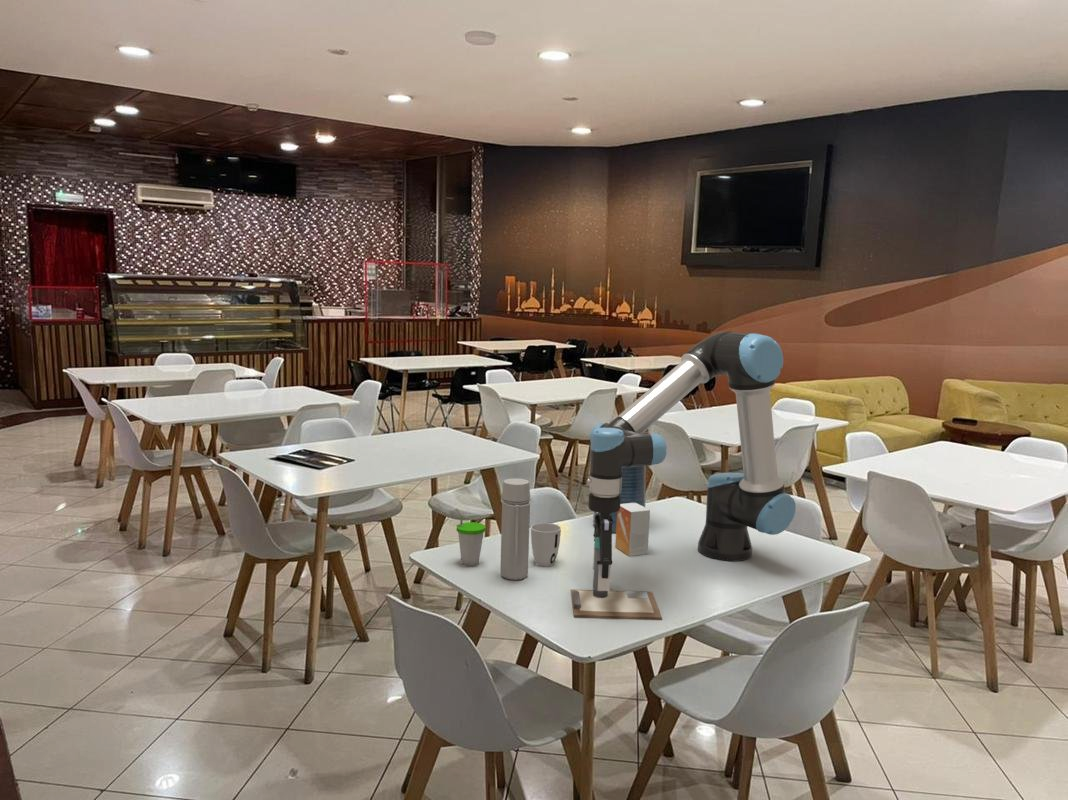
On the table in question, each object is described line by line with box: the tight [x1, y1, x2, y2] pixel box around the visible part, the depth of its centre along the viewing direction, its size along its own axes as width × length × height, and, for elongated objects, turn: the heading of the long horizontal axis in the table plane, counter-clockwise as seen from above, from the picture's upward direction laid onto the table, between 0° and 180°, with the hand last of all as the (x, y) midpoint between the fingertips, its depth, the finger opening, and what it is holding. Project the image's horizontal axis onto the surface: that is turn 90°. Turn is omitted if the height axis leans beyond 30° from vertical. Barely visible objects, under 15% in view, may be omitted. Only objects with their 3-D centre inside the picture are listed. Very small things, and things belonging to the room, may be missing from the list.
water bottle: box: [499, 477, 533, 581], centre depth 197 cm, size 9×8×25 cm
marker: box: [592, 537, 608, 598], centre depth 186 cm, size 4×4×14 cm
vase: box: [592, 466, 647, 534], centre depth 242 cm, size 16×16×32 cm
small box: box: [614, 503, 651, 557], centre depth 221 cm, size 8×6×13 cm
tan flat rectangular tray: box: [570, 588, 663, 621], centre depth 183 cm, size 20×15×2 cm
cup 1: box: [455, 507, 486, 568], centre depth 206 cm, size 8×8×15 cm
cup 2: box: [530, 522, 562, 567], centre depth 209 cm, size 8×8×10 cm
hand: (601, 579), depth 186 cm, fingers open, 13 cm apart
